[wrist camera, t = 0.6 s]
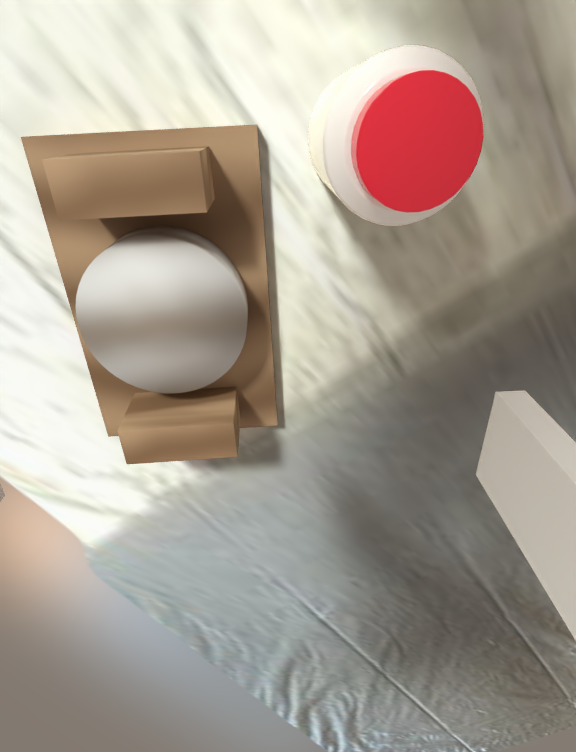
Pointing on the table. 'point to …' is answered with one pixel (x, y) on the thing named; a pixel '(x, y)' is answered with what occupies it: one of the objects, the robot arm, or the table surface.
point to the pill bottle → (398, 134)
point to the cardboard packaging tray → (165, 281)
